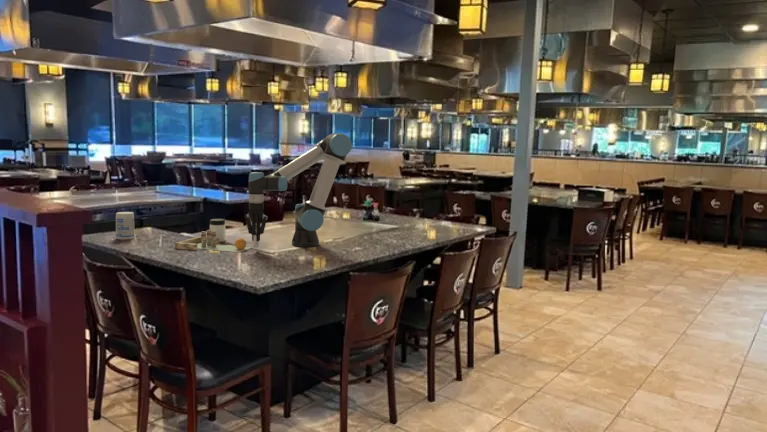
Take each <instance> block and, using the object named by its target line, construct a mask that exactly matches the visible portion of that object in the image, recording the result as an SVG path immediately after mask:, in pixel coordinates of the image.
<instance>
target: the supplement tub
mask: <svg viewBox="0 0 767 432" xmlns="http://www.w3.org/2000/svg"><path fill="white" fill-rule="evenodd" d="M115 238H116V239H117V240H121V241H126V240H127V241H128V240H133V239H135V213H134V212H133V211H119V212H116V213H115Z"/></svg>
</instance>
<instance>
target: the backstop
mask: <svg viewBox="0 0 767 432" xmlns="http://www.w3.org/2000/svg"><path fill="white" fill-rule="evenodd" d="M198 243H201V235H200V236H196V237H192V238H187V239H184V240H180V241H177V242H175V243H174V246H175V247H174V249H179V250H188V251H198V249H197V244H198ZM206 243H207V236H206ZM219 243H220V242H219V238H216V244H219ZM211 244H212V242H211Z"/></svg>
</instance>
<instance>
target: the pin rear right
mask: <svg viewBox="0 0 767 432" xmlns="http://www.w3.org/2000/svg"><path fill="white" fill-rule="evenodd" d="M206 237H207V246H211V244H212V243H211V230H210V229H207V230H206Z"/></svg>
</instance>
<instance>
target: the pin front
mask: <svg viewBox="0 0 767 432" xmlns="http://www.w3.org/2000/svg"><path fill="white" fill-rule="evenodd" d="M211 242H212V243H211V244H212V247H216V231H211Z"/></svg>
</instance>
